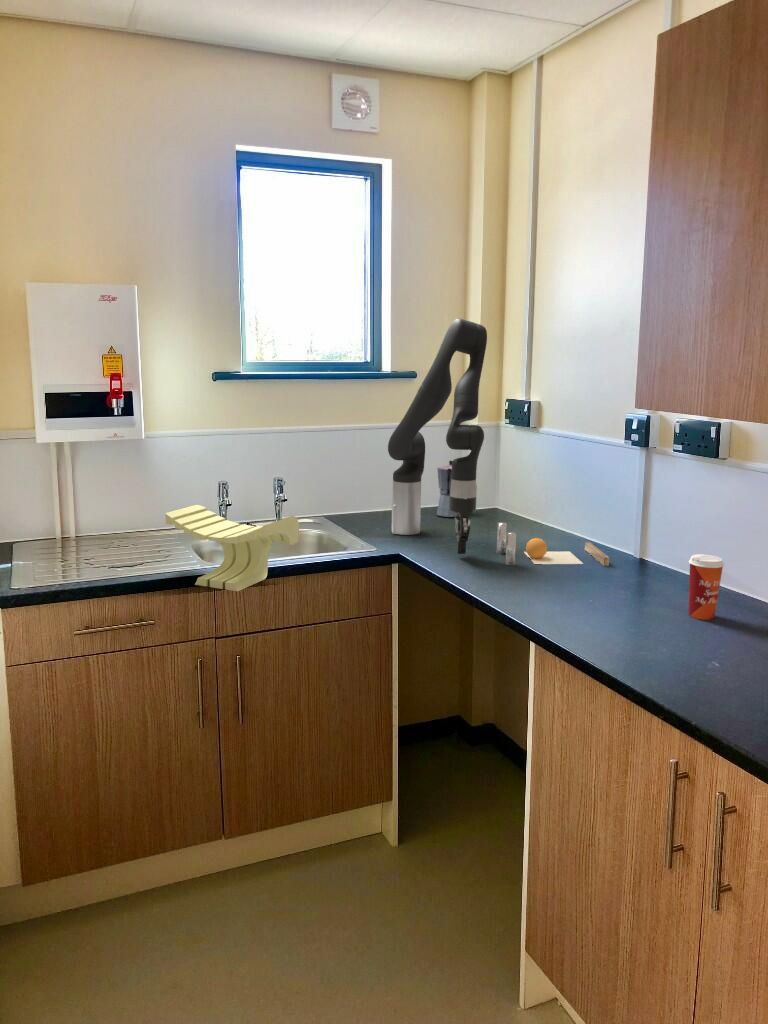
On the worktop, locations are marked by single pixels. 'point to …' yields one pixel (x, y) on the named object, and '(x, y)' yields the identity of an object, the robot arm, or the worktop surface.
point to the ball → (536, 548)
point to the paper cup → (704, 585)
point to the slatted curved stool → (234, 544)
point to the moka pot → (445, 491)
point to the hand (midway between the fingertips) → (461, 553)
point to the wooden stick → (597, 554)
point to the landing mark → (556, 558)
